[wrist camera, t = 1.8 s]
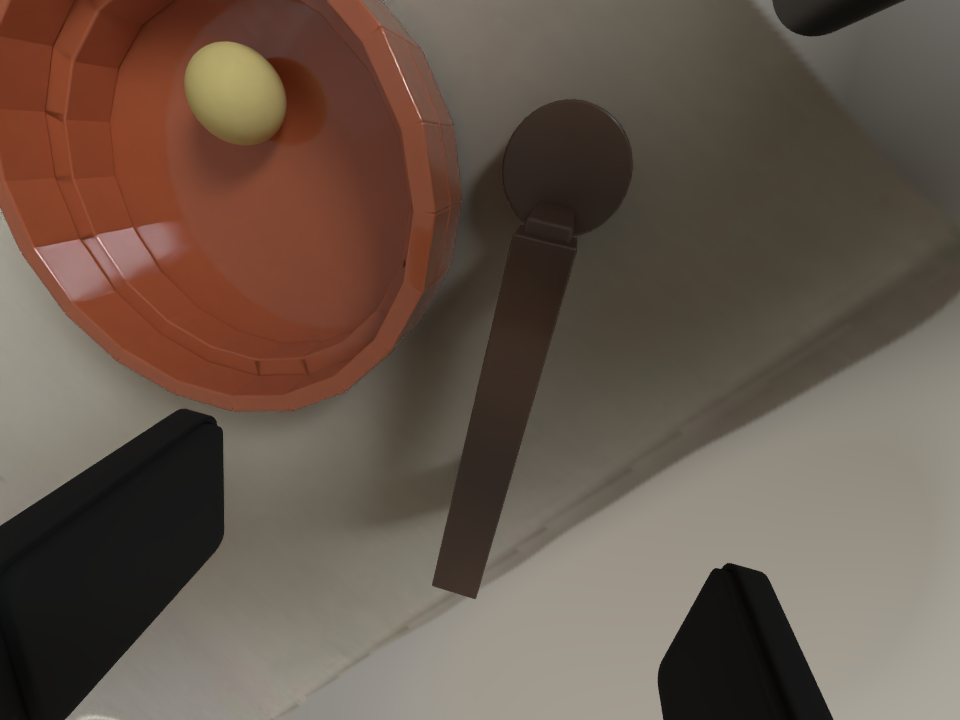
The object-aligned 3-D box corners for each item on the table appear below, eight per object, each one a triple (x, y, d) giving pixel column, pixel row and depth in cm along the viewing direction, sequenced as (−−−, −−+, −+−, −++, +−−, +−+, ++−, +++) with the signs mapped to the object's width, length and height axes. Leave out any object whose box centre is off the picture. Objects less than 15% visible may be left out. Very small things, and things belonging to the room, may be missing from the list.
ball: (305, 59, 17) (252, 43, 14) (301, 153, 18) (252, 155, 15) (223, 42, 17) (157, 22, 14) (225, 135, 18) (164, 133, 16)
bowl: (504, -13, 15) (480, -65, 12) (427, 405, 22) (396, 459, 18) (62, -103, 17) (-90, -176, 13) (113, 317, 23) (22, 351, 19)
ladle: (524, 92, 16) (495, 63, 11) (644, 118, 16) (680, 103, 10) (443, 472, 23) (397, 580, 17) (526, 496, 23) (507, 614, 17)
